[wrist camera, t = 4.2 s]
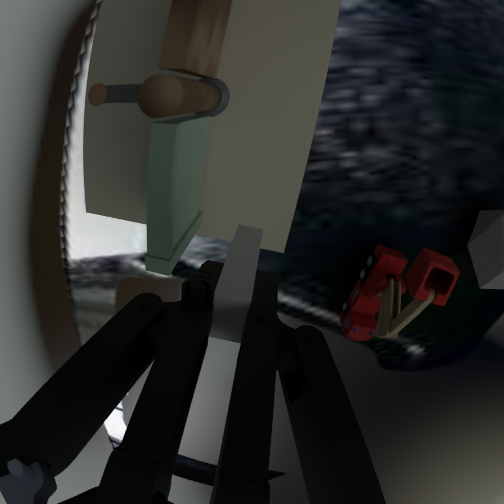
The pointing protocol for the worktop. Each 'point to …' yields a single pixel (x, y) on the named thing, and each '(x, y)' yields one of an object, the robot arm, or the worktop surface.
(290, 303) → the worktop surface
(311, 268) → the worktop surface
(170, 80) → the base
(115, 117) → the card
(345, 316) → the toy fire truck
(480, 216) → the die
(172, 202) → the green rectangular block
